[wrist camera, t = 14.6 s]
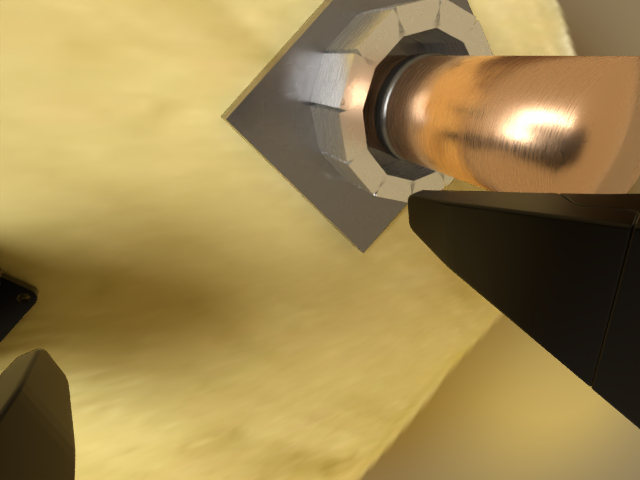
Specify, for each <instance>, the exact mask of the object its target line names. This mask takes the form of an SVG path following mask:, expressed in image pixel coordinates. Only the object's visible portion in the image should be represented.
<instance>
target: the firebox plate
mask: <svg viewBox="0 0 640 480" xmlns="http://www.w3.org/2000/svg"><path fill="white" fill-rule="evenodd" d="M475 19H476V17H475V16H474V15H473V13H472V11H471V8H470V6H469V4H468V1H467V0H325V1H324V2H323V3H322V4H321V6H320V7H319V8H318V9H317V10H316V11H315V12H314V13H313V14H312V16H311V17H310V18H309V19H308V20H307V21H306V22H305V23H304V24H303V26H302V27H301V28H300V29H299V30H298V31H297V32H296V33H295V34H294V36H293V37H292V38H291V39H290V40H289V41H288V42H287V43H286V45H285V46H284V47H283V48H282V49H281V50H280V51H279V52H278V53H277V55H276V56H275V57H274V58H273V59H272V60H271V61H270V62H269V63H268V65H267V66H266V67H265V68H264V69H263V70H262V71H261V72H260V74H259V75H258V76H257V77H256V78H255V79H254V80H253V81H252V82H251V84H250V85H249V86H248V87H247V88H246V89H245V90H244V91H243V92H242V94H241V95H240V96H239V97H238V98H237V99H236V100H235V101H234V102H233V104H232V105H231V106H230V107H229V108H228V109H227V110H226V111H225V113H224V114H223V115H222V116H221V117H222V118H223V119H224V120H225V121H226V122H227V123H228V124H229V125H230V126H231V127H232V128H233V129H234V130H235V131H236V132H237V133H238V134H239V135H240V136H241V137H242V138H243V139H244V140H245V141H246V142H248V143H249V144H250V145H251V146H252V147H253V148H254V149H255V150H256V151H257V152H258V153H259V154H260V155H261V156H262V157H263V158H264V159H265V160H266V161H267V162H268V163H269V164H270V165H271V166H272V167H273V168H274V169H275V170H276V171H277V172H278V173H279V174H281V175H282V176H283V177H284V178H285V179H286V180H287V181H288V182H289V183H290V184H291V185H292V186H293V187H294V188H295V189H296V190H297V191H298V192H299V193H300V194H301V195H302V196H303V197H304V198H305V199H306V200H307V201H308V202H309V203H310V204H311V205H312V206H314V207H315V208H316V209H317V210H318V211H319V212H320V213H321V214H322V215H323V216H324V217H325V218H326V219H327V220H328V221H329V222H330V223H331V224H332V225H333V226H334V227H335V228H336V229H337V230H338V231H339V232H340V233H341V234H342V235H343V236H344V237H345V238H347V239H348V240H349V241H350V242H351V243H352V244H353V245H354V246H355V247H356V248H357V249H359V250H360V251H361V252H362V253H364V252H365V250H366V249H367V248H368V247H369V246H370V245H371V244H372V243H373V241H374V240H375V239H376V238H377V237H378V236H379V235H380V234H381V233H382V231H383V230H384V229H385V228H386V227H387V226H388V225H389V224H390V222H391V221H392V220H393V219H394V218H395V217H396V216H397V215H398V213H399V212H400V211H401V210H402V209H403V208H404V207H405V206H406V204H407V203H408V197H409V196H410V195H411V194H413V193H415V192H418V191H420V190H442V189H444V188H445V186H448V185H449V184H450V183H451V182H452V181H453V179H454V177H451V176H448V175H445V174H443V173H440V172H437V171H434V170H432V169H429V168H426V167H423V166H421V165H414V164H409V163H407V162H404V161H401V160H399V159H396V158H394V157H392V156H391V155H390V154H388V153H385V152H382V151H379V150H377V149H374V148H371V147H369V146H367V143H366V135H365V127H364V120H363V112H362V110H363V107H364V103H365V100H366V97H367V93H368V90H369V87H370V84H371V80H372V77H373V74H374V70H375V68H376V66H377V65H378V64H379V63H380V62H381V61H382V60H383V59H384V58H385V56H388V55H414V54H419V53H441V54H445V55H455V56H493V54H492V52H491V49H490V47H489V44H488V42H487V39H486V37H485V35H484V32H483V30H482V27H481V25H480V22H479V20H475Z"/></svg>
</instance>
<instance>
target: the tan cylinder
mask: <svg viewBox="0 0 640 480" xmlns="http://www.w3.org/2000/svg"><path fill="white" fill-rule="evenodd" d="M362 112H363V120H364V127H365V135H366V143H367V146H369V147H371V148H374V149H377V150H379V151H382V152H385V153H388V154H390V155H391V156H392V157H394V158H396V159H399V160H401V161H404V162H407V163H409V164H414V165H421V166H423V167H426V168H429V169H432V170H434V171H437V172H440V173H443V174H445V175H448V176H451V177H454V178H456V179H459V180H462V181H465V182H467V183H470V184H473V185H476V186H478V187H481V188H484V189H487V190H489V191H492V192H531V193H558V194H561V193H575V194H626V193H627V192H628V191H629V190H630V188H631V187H632V186H633V184H634V183H635V182H636V180H637V179H638V177H639V176H640V56H455V55H445V54H441V53H419V54H414V55H388V56H385V58H384V59H383V60H382V61H381V62H380V63H379V64H378V65H377V66H376V68H375V70H374V74H373V77H372V80H371V84H370V87H369V90H368V93H367V97H366V100H365V103H364V107H363V110H362Z"/></svg>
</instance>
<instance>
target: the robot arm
mask: <svg viewBox="0 0 640 480" xmlns="http://www.w3.org/2000/svg"><path fill="white" fill-rule="evenodd" d="M408 213H409V223H410V226H411V229H412V230H413V231H414V232H415V233H416V235H417V236H418V237H419V238H420V239H421V240H422V241H423V242H424V243H425V244H426V245H427V246H428V247H429V248H430V249H431V250H432V251H433V252H434V253H435V254H436V255H437V256H438V258H439V259H440V260H441V261H442V262H443V263H444V264H445V265H446V266H448V267H449V268H450V269H451V270H452V271H453V272H454V273H456V274H457V275H458V276H459V277H460V278H461V279H463V280H464V281H465V282H466V283H467V284H469V285H470V286H471V287H472V288H473V289H475V290H476V291H477V292H478V293H479V294H480V295H482V296H483V297H484V298H485V299H486V300H488V301H489V302H490V303H491V304H492V305H494V306H495V307H496V308H497V309H498V310H499V311H501V312H502V313H503V314H504V315H505V316H507V317H508V318H509V319H510V320H511V321H513V322H514V323H515V324H516V325H517V326H519V327H520V328H521V329H522V330H523V331H524V332H526V333H527V334H528V335H529V336H530V337H532V338H533V339H534V340H535V341H536V342H538V343H539V344H540V345H541V346H542V347H544V348H545V349H546V350H547V351H548V352H550V353H551V354H552V355H553V356H554V357H555V358H557V359H558V360H559V361H560V362H561V363H562V364H564V365H565V366H566V367H567V368H569V369H570V370H571V371H572V372H573V373H574V374H576V375H577V376H578V377H579V378H580V379H582V380H583V381H584V382H585V383H586V384H587V385H589V386H592V389H593V390H594V391H595V392H597V393H598V394H599V395H600V396H601V397H602V398H604V399H605V400H606V401H607V402H608V403H610V404H611V405H612V406H613V407H614V408H616V409H617V410H618V411H619V412H620V413H622V414H623V415H624V416H625V417H626V418H627V419H629V420H630V421H631V422H632V423H633V424H634V425H636V426H637V427H638V428H639V429H640V194H575V193H561V194H558V193H531V192H489V191H447V190H420V191H418V192H415V193H413V194H411V195H410V196H409V197H408ZM20 294H28V295H29V296H30V298H28V299H23V298H21V297H19V295H20ZM37 298H38V291H37V289H36V288H35V287H33V286H31V285H29V284H27V283H25V282H23V281H20V280H18V279H16V278H14V277H12V276H9V275H7V274H5V273H3V272H1V270H0V342H1V341H2V340H3V339H4V337H5V336H6V335H7V334H8V333H9V332H10V331H11V330H12V329H13V327H14V326H15V325H16V324H17V323H18V322H19V321H20V320H21V319H22V317H23V316H24V315H25V314H26V313H27V312H28V311H29V310H30V309H31V307H32V306H33V305H34V304H35V303H36V301H37ZM0 480H75V440H74V430H73V421H72V411H71V402H70V392H69V384H68V380H67V378H66V376H65V374H64V373H63V372H62V370H61V369H60V368H59V366H58V365H57V364H56V363H55V361H54V360H53V359H52V357H51V356H50V355H49V354H48V352H47V351H45V350H44V349H40V348H39V349H36V350H33V351H31V352H28V353H26V354H24V355H21V356H19V357H18V358H16V359H15V360H14V361H13V362H12V364H11V365H10V366H9V367H8V368H7V369H6V370H5V371H4V372H3V373H2V374H1V375H0Z"/></svg>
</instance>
